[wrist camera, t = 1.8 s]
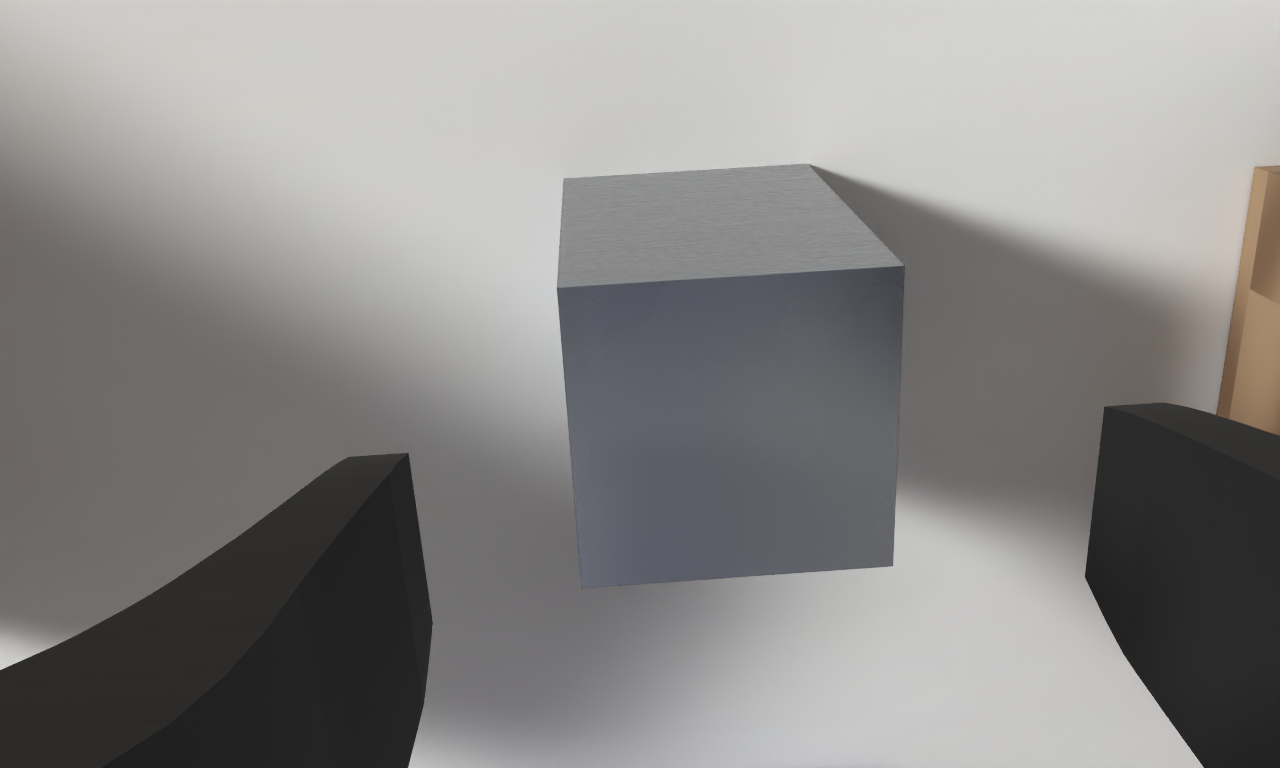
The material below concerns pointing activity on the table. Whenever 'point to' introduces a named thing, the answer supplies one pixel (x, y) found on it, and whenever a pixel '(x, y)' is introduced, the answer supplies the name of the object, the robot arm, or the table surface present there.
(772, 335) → the tall grey block
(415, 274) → the table surface
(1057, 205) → the table surface
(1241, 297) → the well block
